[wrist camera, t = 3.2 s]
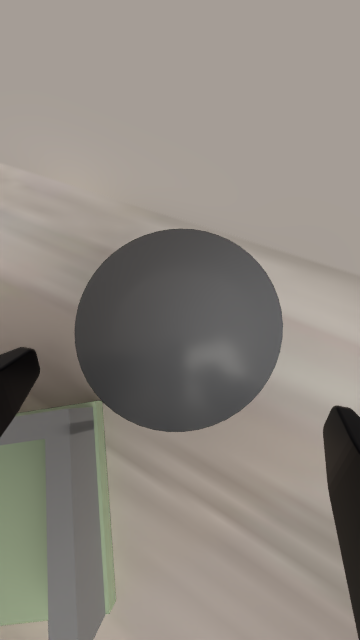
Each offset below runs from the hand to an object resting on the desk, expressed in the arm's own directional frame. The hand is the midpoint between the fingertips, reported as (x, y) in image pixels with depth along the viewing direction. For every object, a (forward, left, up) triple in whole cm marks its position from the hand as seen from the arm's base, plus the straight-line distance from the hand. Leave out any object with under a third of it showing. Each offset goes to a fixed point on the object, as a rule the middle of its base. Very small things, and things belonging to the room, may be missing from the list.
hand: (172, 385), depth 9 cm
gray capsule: (+1, +1, -9) cm, 9 cm away
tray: (-11, +2, -9) cm, 15 cm away
